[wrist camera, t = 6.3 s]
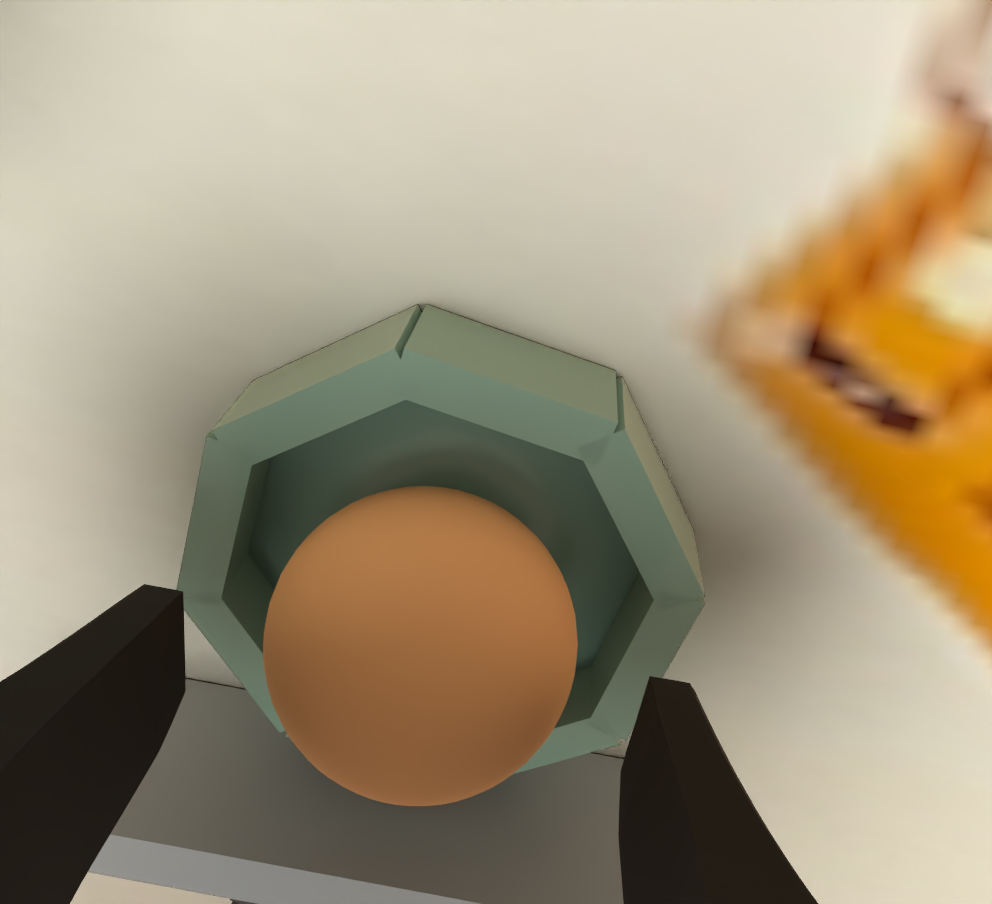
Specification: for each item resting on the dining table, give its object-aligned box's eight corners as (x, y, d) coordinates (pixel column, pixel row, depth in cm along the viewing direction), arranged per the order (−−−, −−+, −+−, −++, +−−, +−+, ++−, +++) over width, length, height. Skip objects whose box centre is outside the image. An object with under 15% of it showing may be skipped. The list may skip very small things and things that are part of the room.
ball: (620, 615, 17) (631, 837, 13) (390, 684, 18) (327, 908, 14) (510, 392, 15) (478, 563, 11) (262, 488, 16) (143, 675, 12)
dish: (741, 633, 18) (756, 706, 16) (369, 745, 20) (347, 820, 18) (558, 239, 14) (552, 277, 13) (140, 432, 17) (87, 486, 15)
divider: (692, 771, 20) (713, 946, 16) (679, 809, 20) (696, 985, 17) (63, 656, 20) (-52, 804, 16) (67, 696, 20) (-43, 848, 17)
